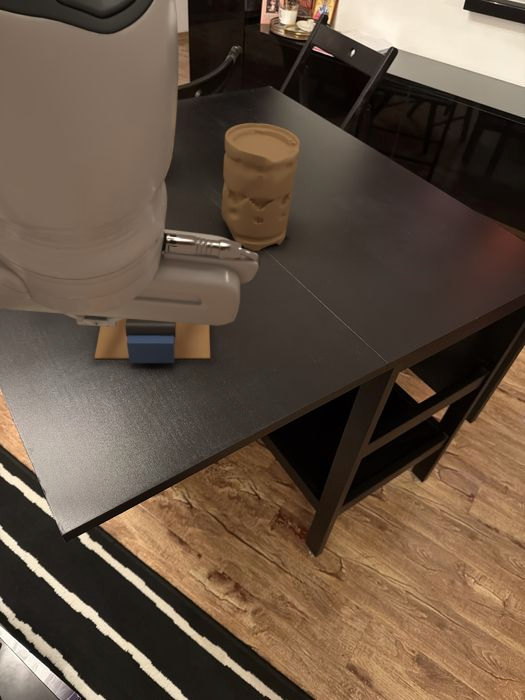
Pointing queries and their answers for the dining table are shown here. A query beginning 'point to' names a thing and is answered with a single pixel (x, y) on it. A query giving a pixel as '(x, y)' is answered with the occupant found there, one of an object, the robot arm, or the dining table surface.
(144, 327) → the toy car
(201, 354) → the brown flat square board
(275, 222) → the container
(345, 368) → the dining table surface
